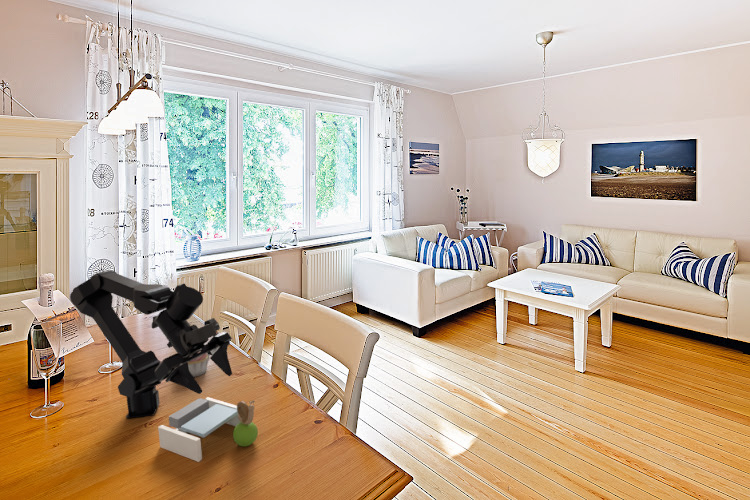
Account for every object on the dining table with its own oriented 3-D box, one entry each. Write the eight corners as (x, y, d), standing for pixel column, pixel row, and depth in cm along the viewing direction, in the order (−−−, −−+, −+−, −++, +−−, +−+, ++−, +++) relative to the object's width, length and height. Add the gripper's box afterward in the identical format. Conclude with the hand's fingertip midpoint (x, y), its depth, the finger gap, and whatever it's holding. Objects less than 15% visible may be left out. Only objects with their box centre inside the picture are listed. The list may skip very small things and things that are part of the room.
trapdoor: (204, 441, 94) (203, 431, 94) (166, 427, 99) (165, 418, 99) (238, 416, 103) (238, 407, 103) (202, 405, 109) (202, 396, 108)
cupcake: (214, 365, 140) (212, 336, 138) (207, 378, 131) (204, 347, 129) (184, 366, 139) (181, 337, 137) (175, 380, 130) (172, 349, 128)
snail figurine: (245, 456, 95) (241, 406, 92) (229, 445, 99) (225, 396, 97) (265, 444, 99) (263, 396, 97) (249, 434, 103) (246, 387, 101)
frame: (198, 461, 93) (196, 441, 92) (160, 447, 98) (158, 427, 97) (245, 426, 106) (244, 407, 105) (209, 415, 111) (208, 397, 110)
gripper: (158, 324, 90) (201, 383, 88) (223, 300, 107) (261, 349, 105) (137, 353, 95) (177, 410, 93) (202, 325, 112) (238, 373, 109)
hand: (216, 383), depth 100 cm, fingers open, 9 cm apart
